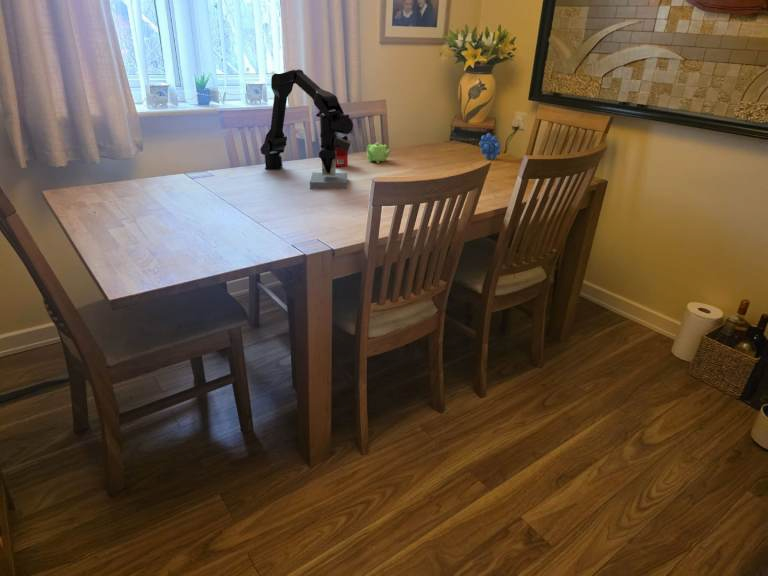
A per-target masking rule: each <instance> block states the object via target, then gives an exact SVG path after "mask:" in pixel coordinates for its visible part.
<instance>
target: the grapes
mask: <svg viewBox="0 0 768 576" xmlns="http://www.w3.org/2000/svg"><path fill="white" fill-rule="evenodd" d="M480 137H481V138H480V139H481V140H480V141H479V142H478V144H479V145H478V146H479V148H480V153H481V154H482V155H484V157H485V159H487V160H490V159H492V160H496V158H497V156H500V155H501V151H500V149H501V147H502V146H501V143H500V142H499V141H498V137H497V135H493V134H491V133H490V132H487V133H486V134H483V135H481V136H480Z"/></svg>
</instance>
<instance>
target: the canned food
mask: <svg viewBox="0 0 768 576" xmlns="http://www.w3.org/2000/svg"><path fill="white" fill-rule="evenodd" d="M334 149H335V150H337V152H336V158H334V159H333V160H335V161H336V168H345V167H347V166H348V164H349V162H348V157H349V156H348V155H349V150H348V151H345V150H344V149H341V148H338V147H337V149H336V148H334Z"/></svg>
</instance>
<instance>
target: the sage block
mask: <svg viewBox="0 0 768 576" xmlns="http://www.w3.org/2000/svg"><path fill="white" fill-rule="evenodd" d="M336 168H337V167H336V161H335V160H332V164H331V170H330V173H327V171H326V169H325V167H324V165H323V162H322V161H321V173H322V175H331V176H335V173H337V171H336Z"/></svg>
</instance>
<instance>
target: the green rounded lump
mask: <svg viewBox="0 0 768 576" xmlns="http://www.w3.org/2000/svg"><path fill="white" fill-rule="evenodd" d="M387 148H388V145H387V144H380V142H374V144H368V145H367V147H366V150H365V151H366V158H367V159H368V161H369V163H372V162H375V164H380V163H381V162H383V163H384V162H386V160H387V158H388V156H389V155H390V153H391V152H392V149H391V148H389V149H388V150H387Z"/></svg>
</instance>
